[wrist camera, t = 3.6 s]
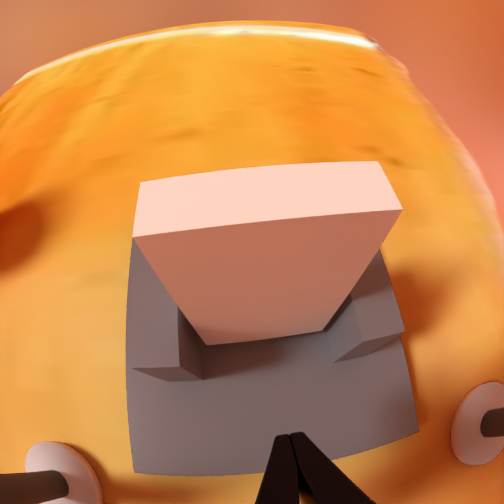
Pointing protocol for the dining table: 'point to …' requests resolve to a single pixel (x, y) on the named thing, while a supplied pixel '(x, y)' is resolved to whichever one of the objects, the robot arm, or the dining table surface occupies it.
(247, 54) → the dining table surface
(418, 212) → the dining table surface
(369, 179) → the block
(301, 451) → the robot arm
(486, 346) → the dining table surface
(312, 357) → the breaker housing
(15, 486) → the post
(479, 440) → the post
